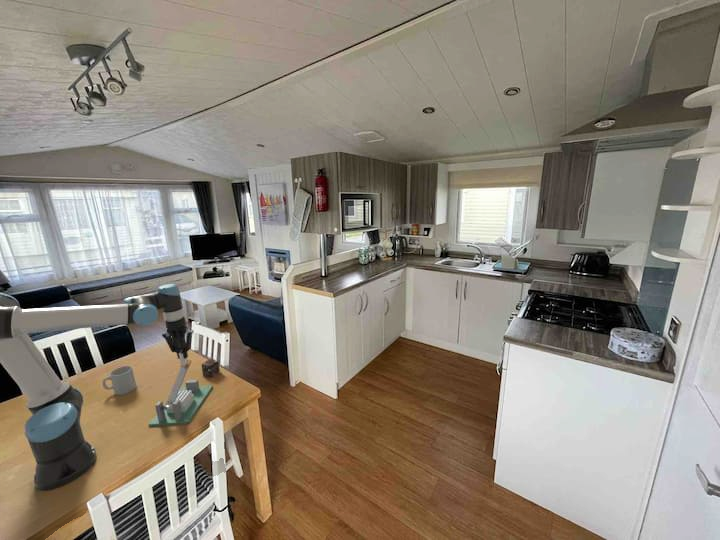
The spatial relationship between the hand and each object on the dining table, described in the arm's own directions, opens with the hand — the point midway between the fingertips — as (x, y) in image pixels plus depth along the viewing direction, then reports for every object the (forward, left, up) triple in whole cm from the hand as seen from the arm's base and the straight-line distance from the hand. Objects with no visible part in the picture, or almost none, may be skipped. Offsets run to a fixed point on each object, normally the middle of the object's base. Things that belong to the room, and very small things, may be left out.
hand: (184, 364), depth 130 cm
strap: (-6, 0, -6) cm, 9 cm away
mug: (+8, +37, -18) cm, 42 cm away
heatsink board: (-6, 0, -18) cm, 19 cm away
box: (+18, -2, -18) cm, 26 cm away
